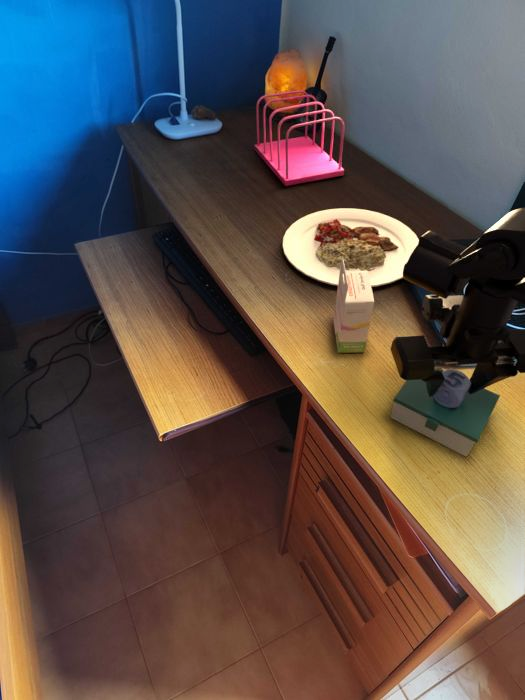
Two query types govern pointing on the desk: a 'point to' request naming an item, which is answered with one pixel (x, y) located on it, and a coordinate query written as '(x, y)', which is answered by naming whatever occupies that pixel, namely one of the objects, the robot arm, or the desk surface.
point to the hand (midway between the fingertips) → (449, 392)
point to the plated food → (349, 245)
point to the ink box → (352, 310)
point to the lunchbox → (444, 415)
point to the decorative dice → (452, 389)
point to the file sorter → (299, 146)
